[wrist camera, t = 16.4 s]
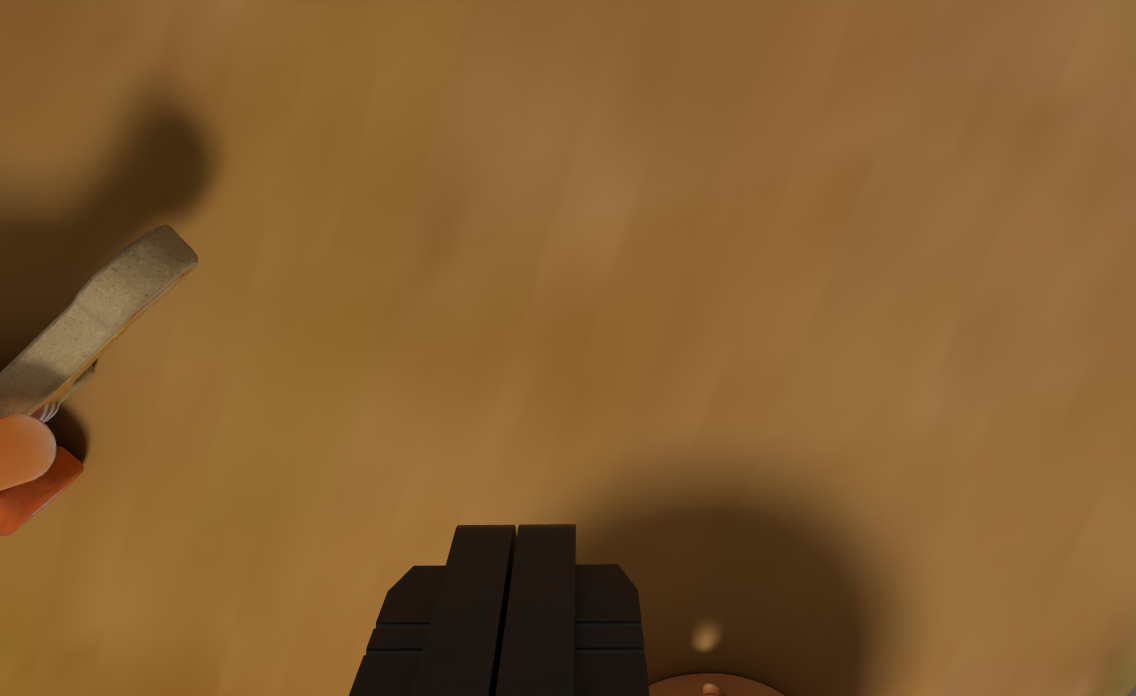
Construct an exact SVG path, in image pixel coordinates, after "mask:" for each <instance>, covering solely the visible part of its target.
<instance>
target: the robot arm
mask: <svg viewBox="0 0 1136 696" xmlns="http://www.w3.org/2000/svg"><path fill="white" fill-rule="evenodd" d="M349 696H650V695H649V686H648V677H647V668H646V659H645V654H644V641H643V633H642V627H641V615H640V606H639V597H638V590H637V589H636V587H635V586H634V585H633V583H632V582H631V581H630V580H629V578H628V577H627V576H626V574H625V573H624V572H623V570H622V569H621V568H620V567H619V565H618V564H609V565H576V524H549V525H519V527H518V533H517V534H516V527H515V525H458V526H457V528H456V530H455V534H454V537H453V541H452V545H451V548H450V552H449V556H448V559H447V563H446V566H413V567H412V568H411V569H410V570H409V571H408V572H407V573H406V574H405V575H404V576H403V577H402V578H401V579H400V580H399V581H398V582H397V583H396V584H395V585H394V586H393V587H392V588H391V589H390V590H389V591H388V592H387V595H386V597H385V600H384V603H383V605H382V608H381V611H380V613H379V616H378V619H377V621H376V629H374V630H373V632H372V635H371V638H370V640H369V643H368V646H367V648H366V655H364V656H363V659H362V662H361V664H360V667H359V670H358V673H357V675H356V678H355V681H354V683H353V686H352V689H351V691H350V694H349Z"/></svg>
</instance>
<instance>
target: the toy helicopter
mask: <svg viewBox="0 0 1136 696" xmlns="http://www.w3.org/2000/svg"><path fill="white" fill-rule="evenodd" d="M197 262H198V257H197V255H196V253H195V252H194V251H193V250H192V248H191V247H190V246H189V245H188V244H187V243H186V242H185V241H184V240H183V239H182V238H181V237H180V236H179V235H178V234H177V233H176V232H175V231H174V230H173V229H172V228H171V227H169V226H168V225H163V226H159V227H157V228H155V229H153V230H151V231H149V232H148V233H146V234H145V235H143V236H142V237H140V238H139V239H137V240H136V241H134V242H133V243H132V244H130V245H129V246H127V247H126V248H125V249H124V250H122V251H121V252H120V253H119V254H117V255H116V256H115V257H114V258H113V259H111V260H110V261H109V262H108V263H107V264H106V265H104V266H103V267H102V268H101V269H100V270H99V271H97V272H96V273H95V274H94V275H93V276H92V277H91V278H90V279H89V280H88V281H87V283H86V284H85V285H84V286H83V287H82V288H81V289H80V290H79V292H78V293H77V295H76V297H75V299H74V301H73V302H72V303H71V304H70V305H69V306H68V307H67V308H66V309H65V310H64V311H63V312H62V313H61V314H60V315H59V316H58V317H57V318H56V319H55V320H54V321H53V322H52V323H50V324H49V325H48V326H47V327H46V328H45V329H44V330H43V331H42V332H41V333H40V334H39V335H38V336H37V337H36V338H35V339H34V340H33V341H32V342H31V343H30V344H29V345H28V346H27V347H26V348H25V349H24V350H23V351H22V352H21V353H20V354H19V355H18V356H17V357H16V358H15V359H14V360H13V361H12V362H11V363H10V364H9V365H8V366H7V367H6V368H5V369H3V370H2V371H1V372H0V535H1V536H9V535H11V534H12V533H13V532H15V531H16V530H17V529H18V528H20V527H21V526H22V525H23V524H24V523H26V522H27V521H28V520H29V519H30V518H31V517H33V516H34V515H35V514H36V513H37V512H39V511H40V510H41V509H42V508H43V507H44V506H45V505H47V504H48V503H49V502H50V501H51V500H52V499H54V498H55V497H56V496H57V495H58V494H59V493H60V492H61V491H63V490H64V489H65V488H66V487H67V486H68V485H69V484H70V483H71V482H73V481H74V480H75V479H76V478H77V477H78V476H79V475H80V474H81V473H82V472H83V469H84V467H83V465H82V463H81V462H80V461H79V460H78V459H77V458H75V457H74V456H73V455H72V454H71V453H69V452H68V451H67V450H66V449H65V448H63V447H61V446H57V447H56V441H55V437H54V434H53V433H52V431H51V430H50V429H49V427H48V426H47V425H46V424H45V423H44V422H46V421H48V420H49V419H50V418H51V417H53V416H54V415H55V413H56V412H57V411H58V409H59V406H60V404H61V403H63V402H64V401H65V400H66V399H67V398H68V397H69V396H70V395H71V394H73V393H74V392H75V391H76V390H77V389H79V388H80V387H81V386H82V385H83V384H84V383H85V382H87V381H88V380H89V379H90V378H91V376H92V375H93V374H94V372H95V369H94V367H93V365H92V363H93V362H94V361H95V360H96V359H97V358H98V357H99V356H100V355H101V354H102V353H103V352H104V351H105V350H107V349H108V348H109V347H110V346H111V345H112V344H113V343H114V342H115V341H116V340H117V339H118V338H119V337H120V336H121V335H122V334H123V333H124V332H126V331H127V330H128V329H129V328H130V327H131V326H132V325H133V324H134V323H135V322H136V321H137V320H138V319H139V318H140V317H142V316H143V315H144V314H145V313H146V312H147V311H149V310H150V309H151V308H152V307H153V306H154V305H156V304H157V303H158V302H159V301H161V300H162V299H163V298H164V297H165V296H166V295H167V294H169V293H170V292H171V291H172V290H173V289H174V288H175V287H176V286H177V285H179V284H180V283H181V282H182V281H183V280H184V279H185V278H186V277H187V275H188V274H189V273H190V272H191V271H192V270H193V269H194V267H195V266H196V264H197Z"/></svg>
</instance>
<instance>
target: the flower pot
mask: <svg viewBox="0 0 1136 696" xmlns="http://www.w3.org/2000/svg"><path fill="white" fill-rule="evenodd" d="M649 695H650V696H785V695H783V694H781V693H780V692H778V691H776V690H775V689H773V688H771V687H769V686H766V685H764V684H762V683H759V682H756V681H753V680H750V679H747V678H743V677H740V676H734V675H728V674H717V673H700V674H689V675H683V676H677V677H672V678H668V679H665V680H662V681H659V682H656V683H653V684H651V685H649Z"/></svg>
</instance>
